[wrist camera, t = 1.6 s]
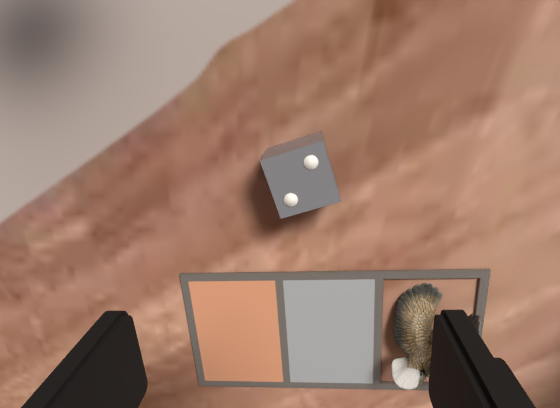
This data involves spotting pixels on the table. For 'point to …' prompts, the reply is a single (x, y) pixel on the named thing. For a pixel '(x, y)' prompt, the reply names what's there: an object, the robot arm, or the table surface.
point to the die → (300, 175)
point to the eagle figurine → (417, 334)
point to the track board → (296, 326)
